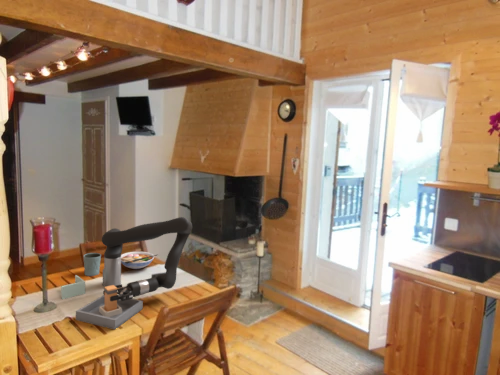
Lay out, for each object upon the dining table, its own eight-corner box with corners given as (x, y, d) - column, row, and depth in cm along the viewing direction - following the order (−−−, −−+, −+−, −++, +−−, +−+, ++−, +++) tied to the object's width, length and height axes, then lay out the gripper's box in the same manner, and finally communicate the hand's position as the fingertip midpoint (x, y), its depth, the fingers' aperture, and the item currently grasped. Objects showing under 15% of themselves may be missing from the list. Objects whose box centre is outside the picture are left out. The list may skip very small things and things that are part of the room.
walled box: (75, 319, 174) (75, 311, 173) (106, 301, 195) (106, 293, 194) (115, 329, 168) (115, 320, 167) (142, 309, 189) (142, 300, 188)
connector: (107, 315, 178) (107, 290, 176) (104, 311, 181) (104, 286, 179) (117, 312, 181) (117, 287, 179) (113, 309, 184) (113, 284, 183)
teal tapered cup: (79, 274, 228) (79, 256, 226) (91, 269, 237) (91, 251, 235) (93, 277, 225) (93, 258, 223) (104, 272, 234) (104, 254, 233)
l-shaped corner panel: (76, 287, 211) (76, 274, 210) (85, 294, 203) (85, 281, 202) (54, 292, 202) (54, 279, 201) (62, 300, 194) (62, 286, 193)
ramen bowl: (142, 258, 262) (142, 247, 261) (162, 267, 248) (162, 255, 247) (110, 267, 243) (110, 255, 242) (129, 276, 229) (129, 264, 228)
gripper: (132, 277, 194) (101, 283, 183) (144, 285, 184) (112, 293, 173) (131, 290, 195) (101, 298, 184) (144, 300, 185) (112, 308, 174)
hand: (106, 296), depth 179 cm, fingers open, 8 cm apart
